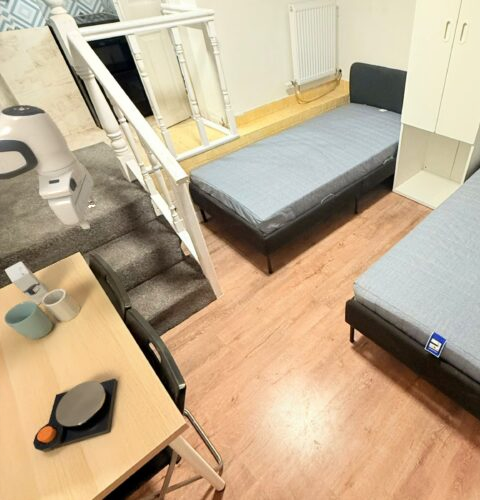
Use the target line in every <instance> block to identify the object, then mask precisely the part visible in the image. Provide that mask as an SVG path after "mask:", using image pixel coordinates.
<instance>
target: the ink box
mask: <svg viewBox="0 0 480 500" xmlns="http://www.w3.org/2000/svg"><path fill="white" fill-rule="evenodd" d="M4 271H5V273H6V275H7V276H8V278H9V280H10V281H11V283H12V284H14V286H16V287H17V288H18V289H19V291H21V292H22V293H23V294H24V295H25V296H26V297H27V298H28V299H29V300H31V302H34V303H35V304H37V305H38V306H39V305H40V304H42V302H41V301H42V299H43V297H44V296H45V295H46V294H48V293H49V292H50V291H49V290H48V288H47V287H46V286H45V284H44V283H43V282H42V281H41V280H40V279H39V278H38V277H37V276H36V275H35V274H34V273H33V272H32V271H31V270H30V268H28V266H26V265H25V263H24V262H23V261H21V260H20V261H19V262H16V263H13V265H10V266H9V267H7V268H5V269H4Z"/></svg>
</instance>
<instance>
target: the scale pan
mask: <svg viewBox="0 0 480 500" xmlns="http://www.w3.org/2000/svg"><path fill="white" fill-rule="evenodd" d="M66 392H67V391H66ZM104 400H105V389H104V387H103V386H102V385H101V384H100V382H98V381H95V380H88V381H83V382H81V383H78V384H77V385H75V386H73V387H72V388H70V389H69V390H68V392H67V393H66V394H65V395H64V397H63V398H62V399H61V401H60V402H59V404H58V406H57V410H56V418H57V421H58V422H59V423H60V424H61V425H63V426H66V427H75V426H78V425H81V424H83V423H85V422H87V421H88V420H90V419H91V418H92V417H93V416H94V415H95V414H96V413H97V412H98V411H99V410H100V408H101V406H102V405H103V402H104Z"/></svg>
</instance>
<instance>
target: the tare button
mask: <svg viewBox="0 0 480 500" xmlns="http://www.w3.org/2000/svg"><path fill="white" fill-rule="evenodd" d="M43 427H44V426H43ZM40 429H41V428H40ZM40 429H39V430H40ZM37 433H38V432H37ZM56 433H57V432H56V429H54V428H52V427H50V426H47V427H44V428H43V429H41V430H40V432H39V433H38V435H37V439H38V440H39V441H41V442H43V443H48V442H50V441H51V440H53V439H54V437H55V436H56Z"/></svg>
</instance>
